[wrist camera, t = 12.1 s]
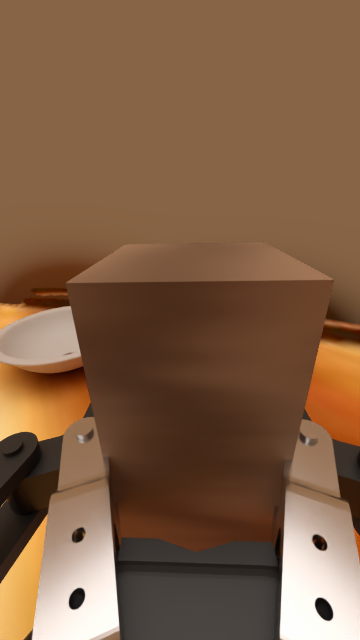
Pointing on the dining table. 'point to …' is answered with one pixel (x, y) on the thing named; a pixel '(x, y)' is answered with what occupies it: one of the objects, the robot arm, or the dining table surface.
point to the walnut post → (198, 382)
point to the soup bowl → (42, 342)
